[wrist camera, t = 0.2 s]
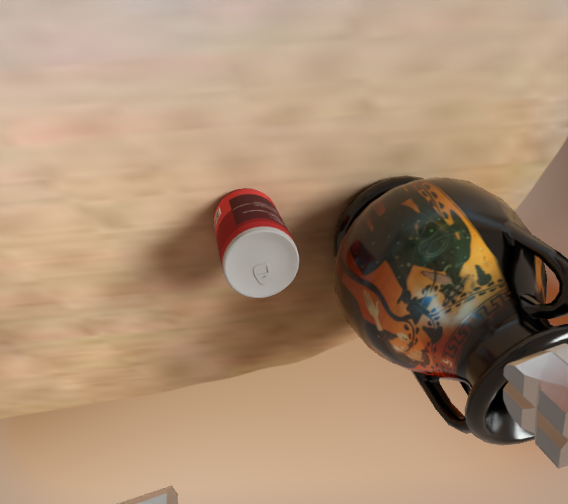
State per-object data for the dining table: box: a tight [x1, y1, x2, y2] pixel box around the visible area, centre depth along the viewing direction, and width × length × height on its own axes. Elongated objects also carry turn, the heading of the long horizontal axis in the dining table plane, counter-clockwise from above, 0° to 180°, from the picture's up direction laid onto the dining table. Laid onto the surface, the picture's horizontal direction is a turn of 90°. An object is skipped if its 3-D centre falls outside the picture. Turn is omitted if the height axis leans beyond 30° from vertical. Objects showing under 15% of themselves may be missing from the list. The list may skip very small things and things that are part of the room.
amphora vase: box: [334, 176, 568, 445], centre depth 44 cm, size 22×22×28 cm
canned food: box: [214, 188, 299, 298], centre depth 45 cm, size 8×8×11 cm
